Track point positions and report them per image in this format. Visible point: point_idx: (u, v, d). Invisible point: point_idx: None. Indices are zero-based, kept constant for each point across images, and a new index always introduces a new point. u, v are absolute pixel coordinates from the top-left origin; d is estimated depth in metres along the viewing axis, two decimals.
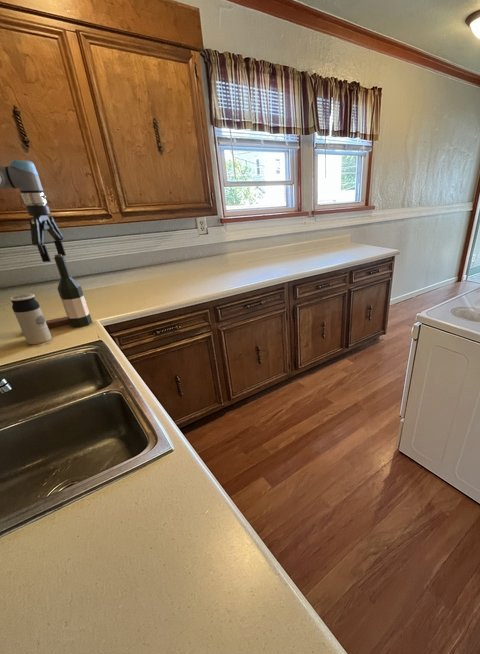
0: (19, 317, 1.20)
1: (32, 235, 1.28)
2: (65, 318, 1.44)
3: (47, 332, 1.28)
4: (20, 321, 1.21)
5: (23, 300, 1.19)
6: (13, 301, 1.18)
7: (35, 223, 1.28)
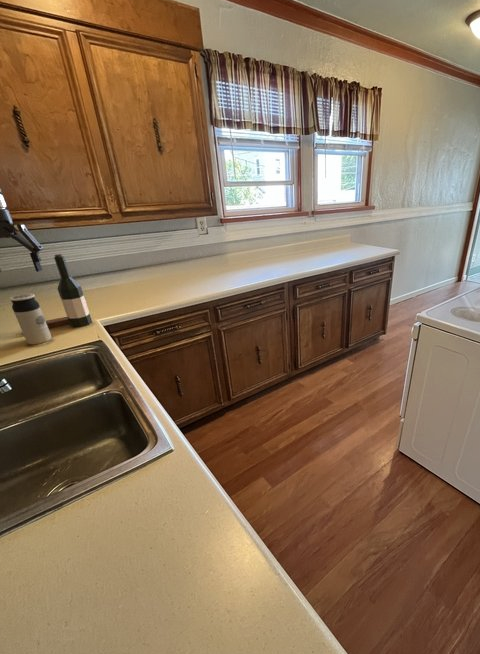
0: (19, 317, 1.20)
1: (33, 241, 1.16)
2: (65, 318, 1.44)
3: (47, 332, 1.28)
4: (20, 321, 1.21)
5: (23, 300, 1.19)
6: (13, 301, 1.18)
7: (25, 228, 1.15)
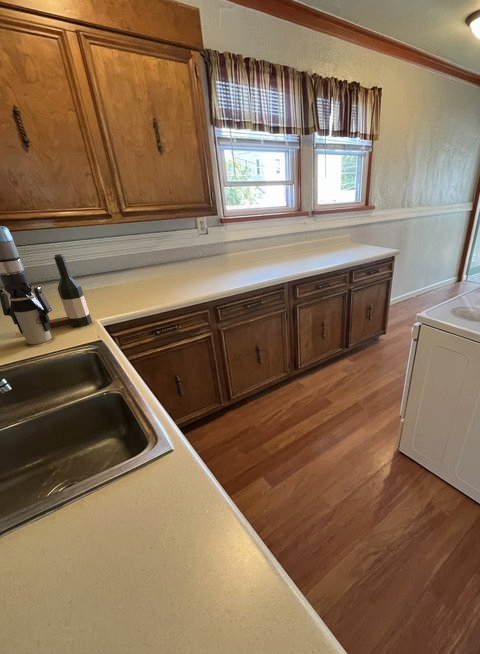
0: (19, 317, 1.20)
1: (45, 304, 1.22)
2: (65, 318, 1.44)
3: (47, 332, 1.28)
4: (20, 321, 1.21)
5: (23, 300, 1.19)
6: (13, 301, 1.18)
7: (41, 291, 1.22)
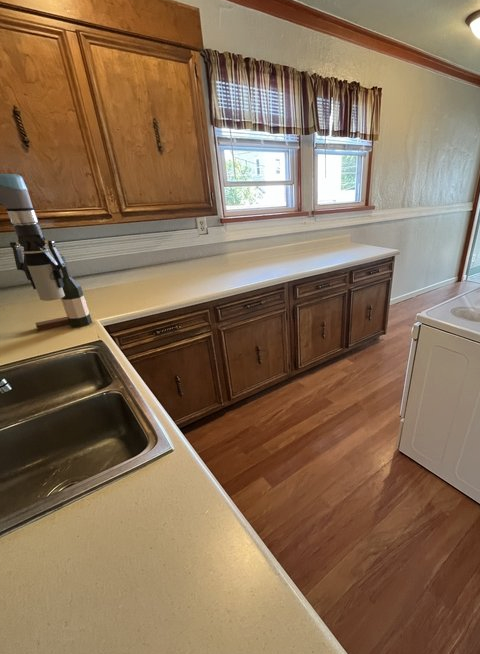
0: (33, 271, 1.18)
1: (59, 258, 1.20)
2: (65, 318, 1.44)
3: (60, 289, 1.25)
4: (34, 275, 1.19)
5: (37, 253, 1.16)
6: (27, 254, 1.16)
7: (54, 245, 1.19)
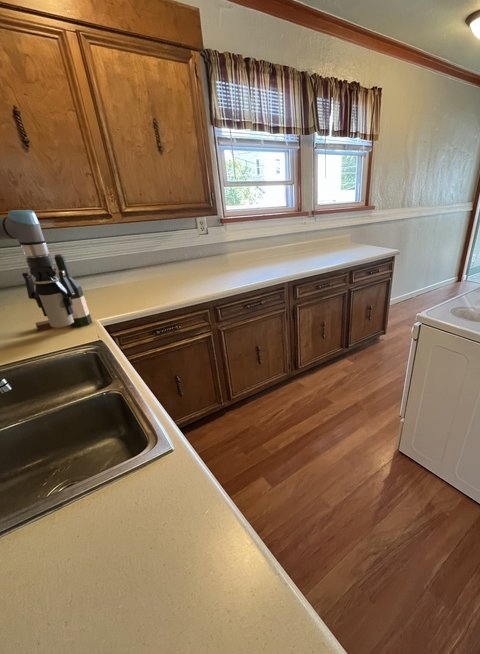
0: (44, 300, 1.23)
1: (69, 287, 1.25)
2: None
3: (70, 316, 1.30)
4: (45, 304, 1.24)
5: (48, 283, 1.21)
6: (38, 284, 1.21)
7: (65, 274, 1.24)
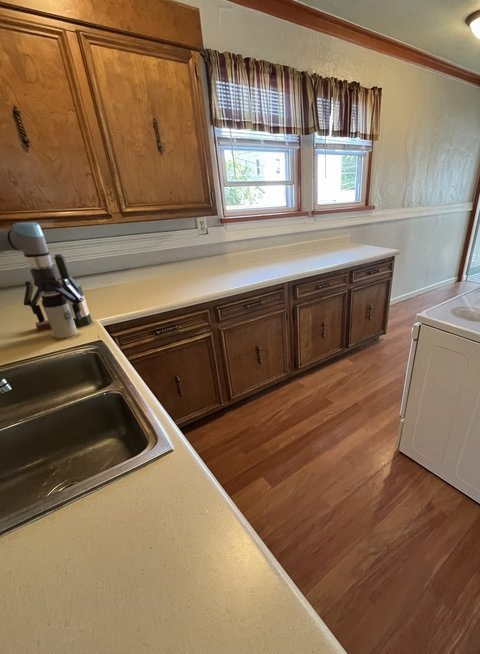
0: (49, 312, 1.25)
1: (75, 294, 1.26)
2: None
3: (74, 327, 1.32)
4: (49, 316, 1.26)
5: (53, 296, 1.23)
6: (43, 296, 1.23)
7: (68, 282, 1.26)
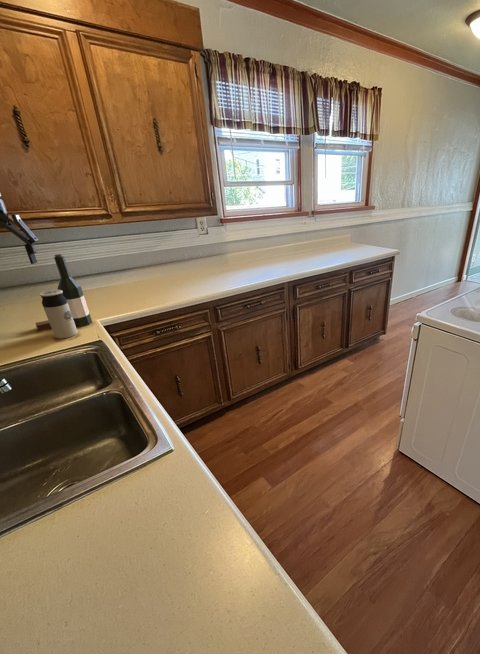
0: (49, 312, 1.25)
1: (28, 232, 1.12)
2: None
3: (74, 327, 1.32)
4: (49, 316, 1.26)
5: (53, 296, 1.23)
6: (43, 296, 1.23)
7: (20, 218, 1.12)
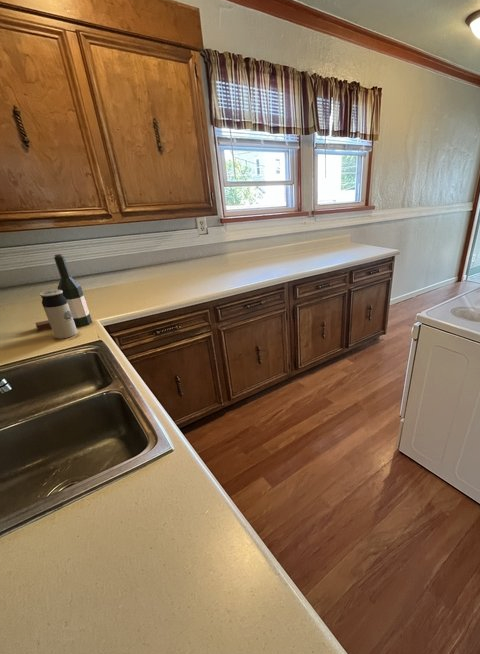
0: (49, 312, 1.25)
1: None
2: None
3: (74, 327, 1.32)
4: (49, 316, 1.26)
5: (53, 296, 1.23)
6: (43, 296, 1.23)
7: None
